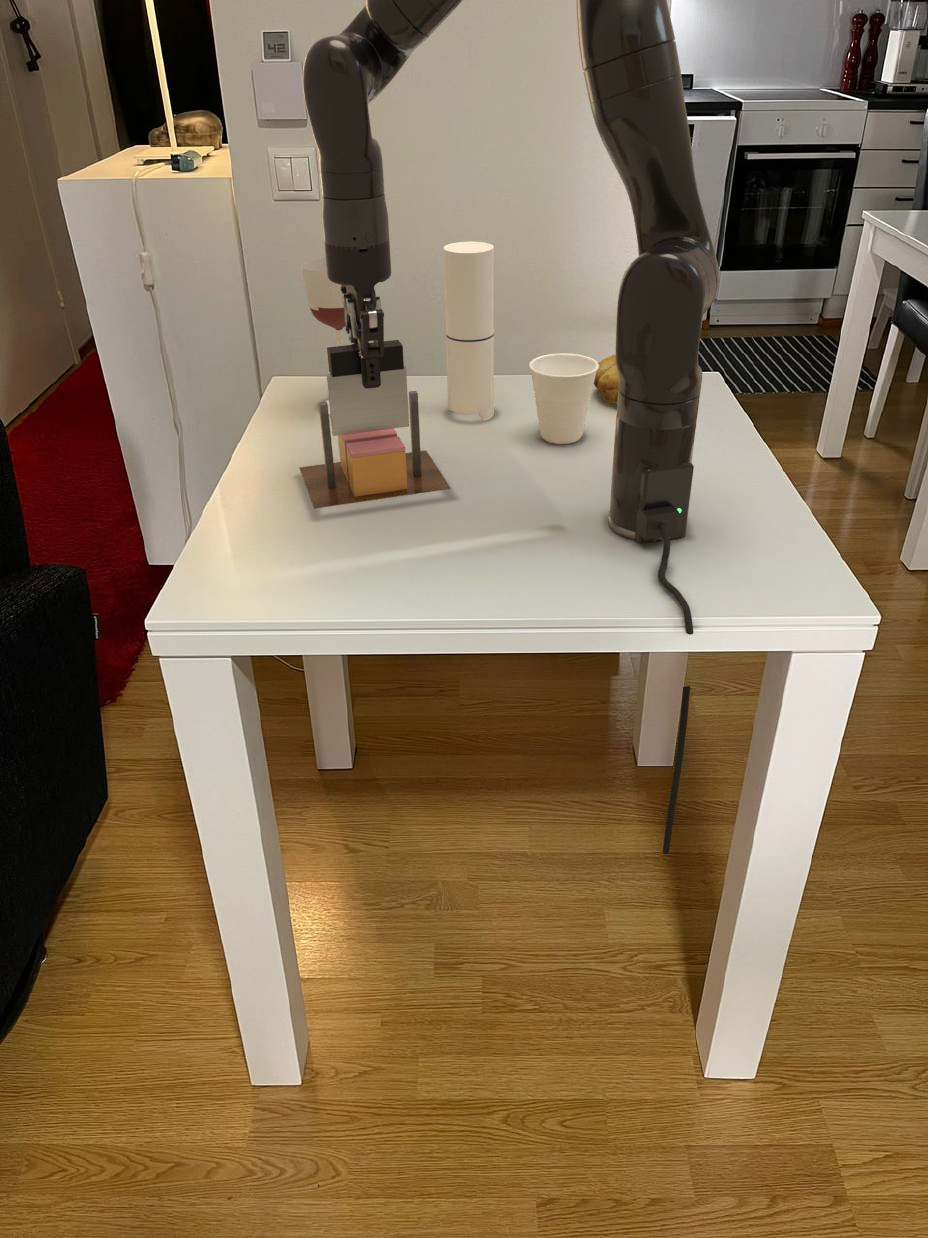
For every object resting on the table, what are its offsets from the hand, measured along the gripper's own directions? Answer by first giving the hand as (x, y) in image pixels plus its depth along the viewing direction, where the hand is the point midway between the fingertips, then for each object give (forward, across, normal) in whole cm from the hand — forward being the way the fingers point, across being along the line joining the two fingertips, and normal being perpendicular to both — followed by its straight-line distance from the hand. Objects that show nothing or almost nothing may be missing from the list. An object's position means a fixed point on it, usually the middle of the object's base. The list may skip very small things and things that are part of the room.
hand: (367, 379), depth 121 cm
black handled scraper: (+7, 0, 0) cm, 7 cm away
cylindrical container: (+16, -22, +20) cm, 34 cm away
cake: (+14, -1, 0) cm, 14 cm away
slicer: (+15, -1, 0) cm, 15 cm away
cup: (+16, -9, +30) cm, 35 cm away
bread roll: (+16, -20, +45) cm, 52 cm away
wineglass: (+16, -32, +2) cm, 36 cm away
